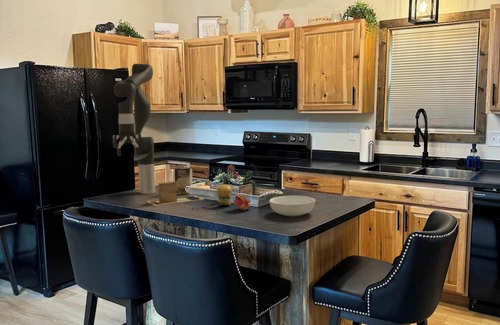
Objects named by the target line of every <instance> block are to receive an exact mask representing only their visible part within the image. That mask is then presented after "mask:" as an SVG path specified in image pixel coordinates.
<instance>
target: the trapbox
mask: <svg viewBox="0 0 500 325" xmlns="http://www.w3.org/2000/svg"><path fill="white" fill-rule="evenodd" d="M191 197H193V198H196V199H189V198H191ZM205 200H206V199H205V198H203V197H200V196H197V195H194V194H189V195H183V196H177V202H171V203H163V204H162V203H160V202H159V198H157V199H150V200H145V202H146V203H147V204H149V205H151V206H153V207H162V206H163V207H164V206H170V205H176V204H178V205H179V204H185V203H192V202H193V203H194V202H201V201H202V202H203V201H205ZM154 202H156V203H158V204H156V203H154Z"/></svg>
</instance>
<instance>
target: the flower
mask: <svg viewBox="0 0 500 325" xmlns="http://www.w3.org/2000/svg"><path fill="white" fill-rule="evenodd" d="M232 199H233V204H234V205H235V206H236V208H235V210H236V211H238V209H239V210H241V211H246V210H248V208H250V207H252V206H253V204H250V203H251V202H252V201H251V200H250V198H247V196H245V195H244V194H241V193H236V194H234V198H232ZM246 212H247V211H246Z"/></svg>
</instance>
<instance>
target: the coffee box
mask: <svg viewBox="0 0 500 325" xmlns="http://www.w3.org/2000/svg"><path fill="white" fill-rule="evenodd" d="M174 182H176V183H177V195H189V194H188V193H187V192H186V191H185V188H184V187H186V186H191V185H192V186H193V167H189V166H188V167H186V166H185V167H183V166H178V167H175V168H174Z"/></svg>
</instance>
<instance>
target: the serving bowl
mask: <svg viewBox="0 0 500 325" xmlns="http://www.w3.org/2000/svg"><path fill="white" fill-rule="evenodd" d="M315 204H316V199H315V198H313V197H310V196H306V195H281V196H275V197H272V198H270V199H269V205H270V208H271V209H272V211H273V212H274V213H277V214H279V215H281V216H284V217H285V216H286V217H299V216H303V215H305V214H308V213H310V212H312V210H313V209H314V207H315Z"/></svg>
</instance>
